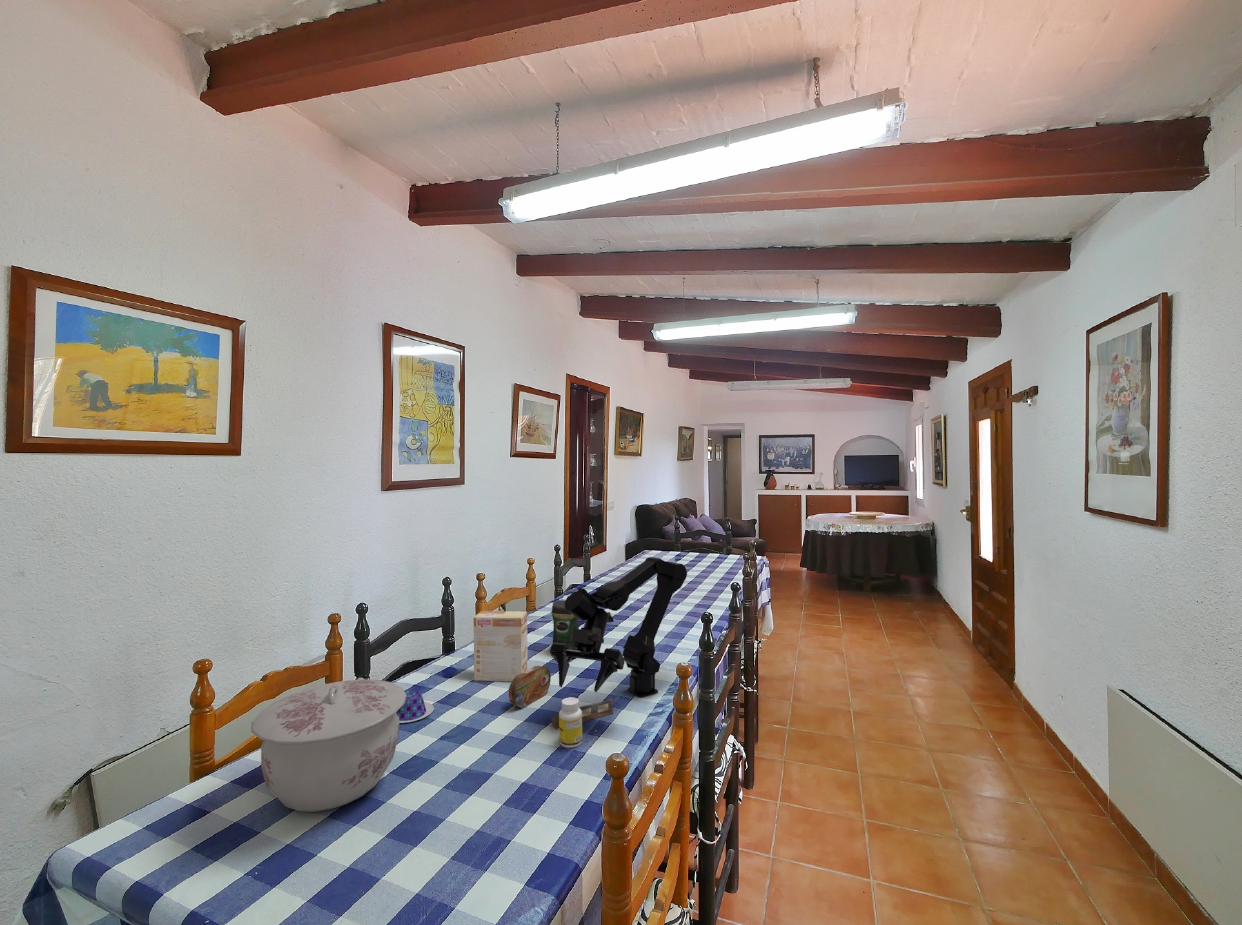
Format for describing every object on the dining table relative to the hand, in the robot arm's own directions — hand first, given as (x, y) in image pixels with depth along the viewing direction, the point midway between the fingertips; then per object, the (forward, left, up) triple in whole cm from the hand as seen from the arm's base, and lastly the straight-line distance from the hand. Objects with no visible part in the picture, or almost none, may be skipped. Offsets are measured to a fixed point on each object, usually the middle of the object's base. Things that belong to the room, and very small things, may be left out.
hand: (577, 688), depth 129 cm
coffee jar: (-19, -50, -11) cm, 55 cm away
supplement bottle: (+3, +3, -11) cm, 12 cm away
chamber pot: (+52, -5, -11) cm, 53 cm away
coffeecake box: (+6, -43, -11) cm, 45 cm away
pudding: (+34, -32, -11) cm, 48 cm away
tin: (+4, -23, -11) cm, 26 cm away
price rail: (-4, -6, -11) cm, 13 cm away
